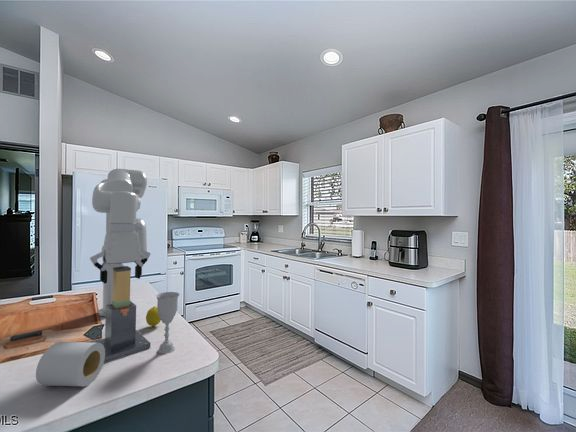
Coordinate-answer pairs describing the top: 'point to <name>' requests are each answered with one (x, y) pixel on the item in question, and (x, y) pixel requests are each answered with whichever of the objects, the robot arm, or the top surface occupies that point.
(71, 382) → the toilet paper
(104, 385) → the top surface
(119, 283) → the column
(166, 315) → the chalice
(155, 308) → the lemon
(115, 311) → the stand
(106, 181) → the robot arm
